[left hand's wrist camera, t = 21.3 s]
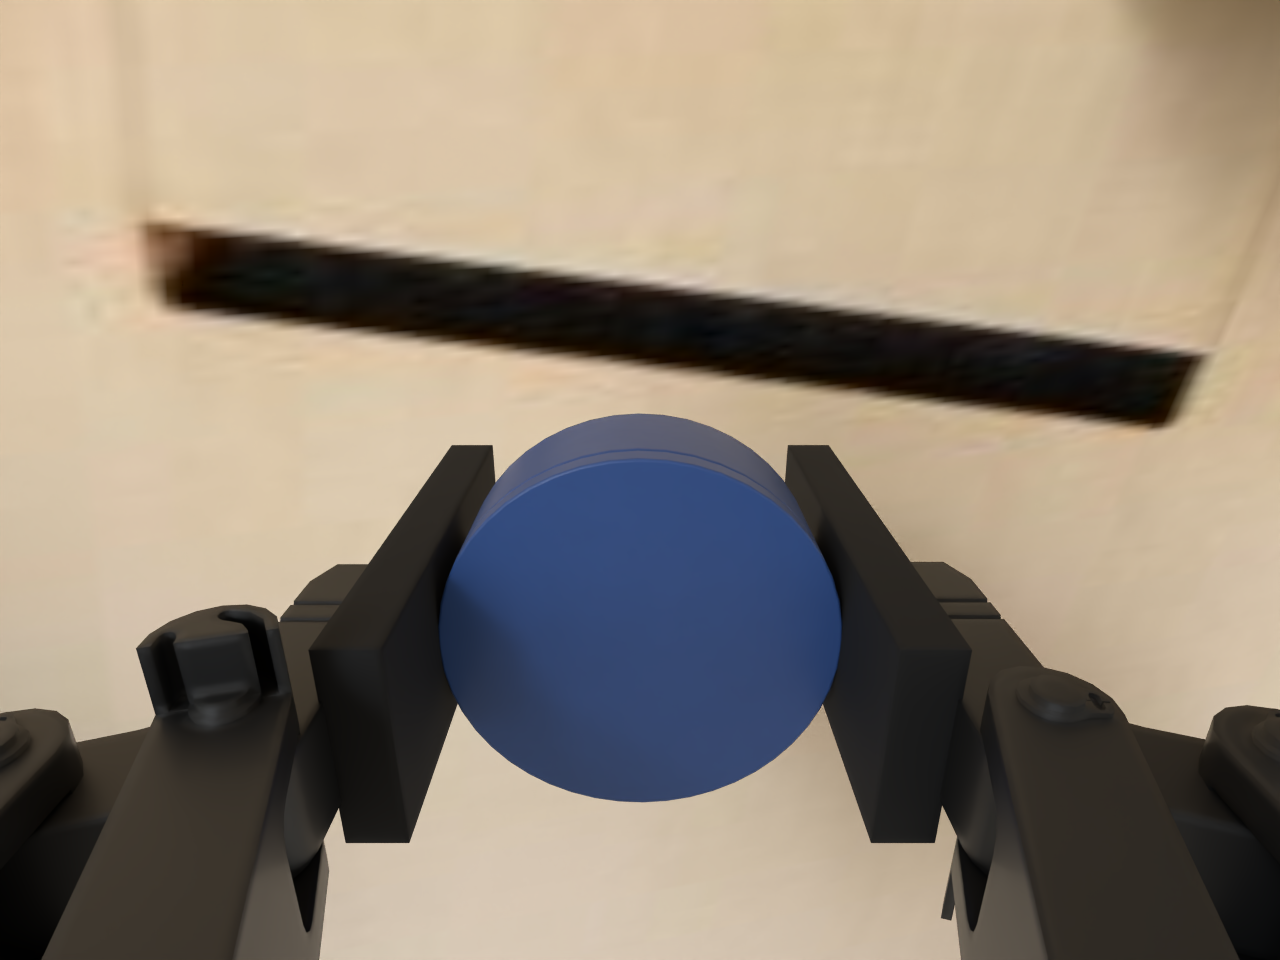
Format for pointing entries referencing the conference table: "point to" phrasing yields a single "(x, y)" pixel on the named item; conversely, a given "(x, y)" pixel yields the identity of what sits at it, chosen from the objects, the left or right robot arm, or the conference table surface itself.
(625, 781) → the lid
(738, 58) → the conference table surface
